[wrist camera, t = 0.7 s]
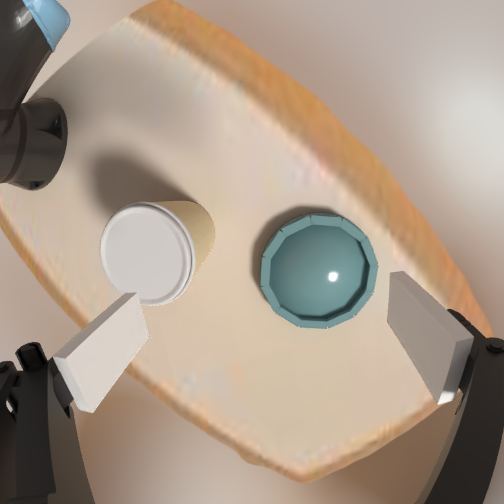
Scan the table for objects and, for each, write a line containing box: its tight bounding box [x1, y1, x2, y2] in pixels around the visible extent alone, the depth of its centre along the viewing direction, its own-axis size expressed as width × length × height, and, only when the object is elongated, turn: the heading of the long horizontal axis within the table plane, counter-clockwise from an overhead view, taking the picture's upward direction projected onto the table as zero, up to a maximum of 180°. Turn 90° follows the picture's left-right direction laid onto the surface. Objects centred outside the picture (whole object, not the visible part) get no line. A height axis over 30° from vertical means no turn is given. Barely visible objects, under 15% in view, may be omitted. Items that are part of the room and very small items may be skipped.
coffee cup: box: [100, 201, 215, 306], centre depth 29 cm, size 9×9×12 cm
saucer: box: [260, 213, 378, 329], centre depth 34 cm, size 14×14×2 cm
